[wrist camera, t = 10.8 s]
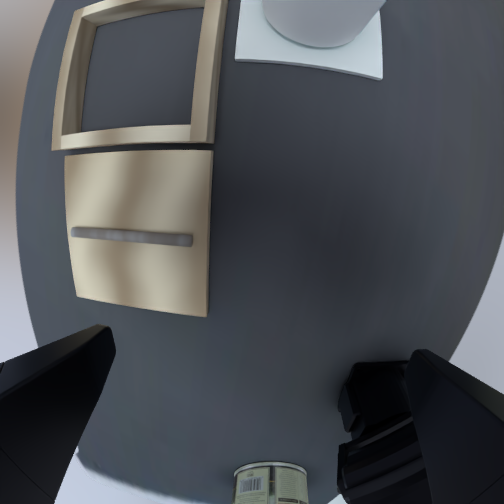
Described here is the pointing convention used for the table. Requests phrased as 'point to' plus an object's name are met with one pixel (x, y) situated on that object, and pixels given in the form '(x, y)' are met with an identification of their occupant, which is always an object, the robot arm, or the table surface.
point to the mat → (307, 46)
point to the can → (320, 19)
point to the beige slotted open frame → (140, 178)
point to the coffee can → (270, 484)
